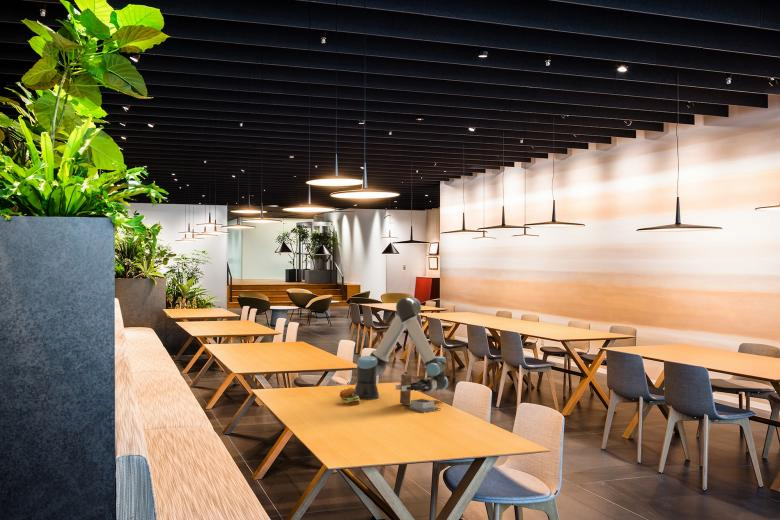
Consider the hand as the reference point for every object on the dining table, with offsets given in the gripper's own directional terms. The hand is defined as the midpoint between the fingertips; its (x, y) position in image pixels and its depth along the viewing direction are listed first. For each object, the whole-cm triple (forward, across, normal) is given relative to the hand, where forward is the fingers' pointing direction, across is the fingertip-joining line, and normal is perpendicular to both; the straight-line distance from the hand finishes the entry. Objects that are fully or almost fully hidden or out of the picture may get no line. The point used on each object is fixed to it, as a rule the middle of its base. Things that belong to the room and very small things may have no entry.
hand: (399, 388), depth 369 cm
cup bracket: (-4, -14, -10) cm, 18 cm away
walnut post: (-5, 0, -9) cm, 10 cm away
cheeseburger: (+19, +19, -10) cm, 29 cm away
